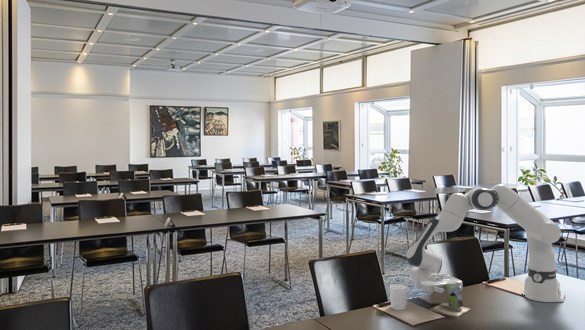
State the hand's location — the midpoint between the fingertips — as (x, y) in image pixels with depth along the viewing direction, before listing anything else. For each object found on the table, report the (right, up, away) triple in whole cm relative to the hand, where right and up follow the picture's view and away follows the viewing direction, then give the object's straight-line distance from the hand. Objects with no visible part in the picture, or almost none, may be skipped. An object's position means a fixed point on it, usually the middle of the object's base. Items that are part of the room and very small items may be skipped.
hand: (451, 290), depth 215 cm
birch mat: (0, -9, +1) cm, 9 cm away
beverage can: (+2, -9, +3) cm, 9 cm away
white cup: (-23, -10, +5) cm, 25 cm away
